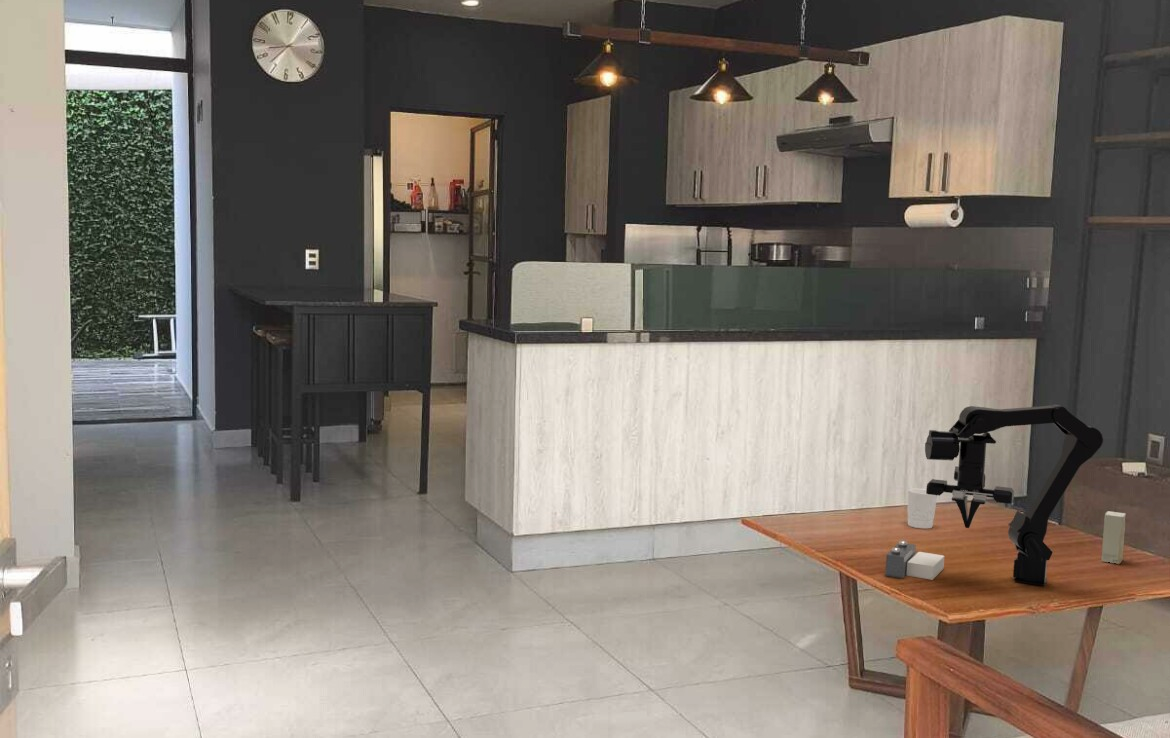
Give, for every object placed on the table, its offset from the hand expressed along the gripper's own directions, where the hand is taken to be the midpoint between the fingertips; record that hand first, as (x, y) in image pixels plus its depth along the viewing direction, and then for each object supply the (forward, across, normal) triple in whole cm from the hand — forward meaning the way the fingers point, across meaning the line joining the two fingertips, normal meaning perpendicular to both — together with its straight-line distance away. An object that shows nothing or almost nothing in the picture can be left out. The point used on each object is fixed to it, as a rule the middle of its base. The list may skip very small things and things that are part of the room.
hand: (967, 527), depth 254 cm
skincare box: (+12, -31, -39) cm, 52 cm away
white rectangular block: (+12, +9, 0) cm, 15 cm away
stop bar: (+12, +14, +2) cm, 19 cm away
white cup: (+12, +18, -50) cm, 54 cm away
